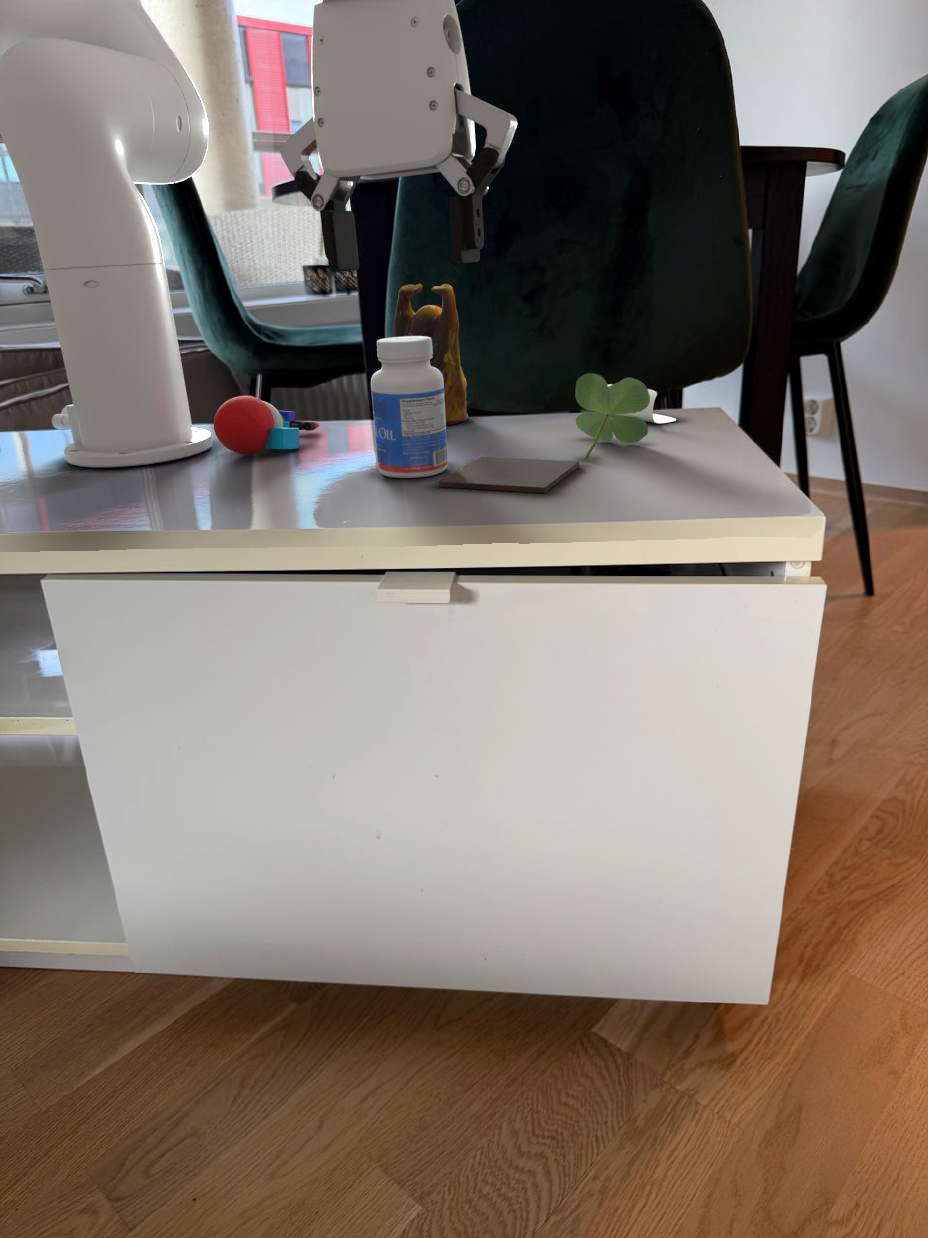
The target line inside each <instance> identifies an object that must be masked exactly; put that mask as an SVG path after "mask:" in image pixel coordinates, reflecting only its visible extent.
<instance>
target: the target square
mask: <svg viewBox="0 0 928 1238" xmlns="http://www.w3.org/2000/svg"><path fill="white" fill-rule="evenodd" d="M579 467H580V461H578V460H577V461H576V460H558V459H557V460H556V459H535V458H511V457H491V456H490V457H489V456H480V457H478V458H477V459H476V460H474V461H472V462H470V463H467V465H465V466H463V467H461V468H459V469H458V470H456V471H453V472H452V473H451V474H449V475H448V476H445V477H444V478H441V479H440V480H439V481H438V482H437V483H438V487H439V488H453V489H470V490H471V489H472V490H485V491H486V490H487V491H504V492H505V491H506V492H521V493H535V494H546V493H548V492H549V490H551V489H552V488H553V487H555V486H556V485H557V484H559V483H560V482H562V480H564V479H565V478H566V477H568V476H569V475H571V473H573V472H574V471H575V470H577V469H578V468H579Z"/></svg>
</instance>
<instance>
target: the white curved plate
mask: <svg viewBox="0 0 928 1238" xmlns="http://www.w3.org/2000/svg"><path fill="white" fill-rule="evenodd" d="M612 384H613V383H611V384H610V383H609V384H608V383H607V385H608V387H609V386H611V385H612ZM647 389H648V393H649V395H650V403H649V405H648V406H647V407H646V408H645V409H644V410H642V411H640V412H636V413H628V414H616V415H619V416H628V417H636V418H639V419H641V420H643V421H644V422H648V423H654V424H667V423H672V422H676V421H677V418H675V417H672V416H669V415H662V414H659V413H654V405H655V400H656V399H657V398H656V397H657V396H658V392H657V391H655V390H653V389H650V388H647Z"/></svg>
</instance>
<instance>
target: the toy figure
mask: <svg viewBox="0 0 928 1238" xmlns="http://www.w3.org/2000/svg"><path fill="white" fill-rule="evenodd" d="M319 427H320V423H318V422H316V421H313V420H298V419H297V417H296V411H291V410H279V409H277V408H276V407H275V406H274V405H272V404H271V403H269V402H267V401H263V400H262V399H260V398H257V397H255V396H252V395H239V396H235V397H232V398H229V399H228V400H226V401H225V402H223V403H222V404H221V405H220V406H219V408H218V409H217V411H216V413H215V414H214V418H213V431H214V434H215V436H216V439H218V441H219V443H220V444H222V446H223V447H224V448H226V449H228V450H229V451H230V452H231V451H232V452H234V453H236V454H240V455H254V454H259V453H261V452H262V451H264V450H266V449H275V450H291V449H292V450H293V449H300V431H307V432H312V431H315V430H316V429H318V428H319Z"/></svg>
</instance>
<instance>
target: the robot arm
mask: <svg viewBox="0 0 928 1238" xmlns="http://www.w3.org/2000/svg"><path fill="white" fill-rule="evenodd" d="M320 1H321V2H320V3H317V4H314V6H313V16H312V17H313V18H312V30H311V60H310V61H311V62H310V63H311V92H312V93H311V94H312V95H311V97H312V112H313V113H312V114H313V116H312V117H311V118H310V119H309V120H308V121H306V122H305V123H304V124H303V125H302V126H301V127H300V128H299V129H298V130H297V131H296V132H295V133H294V134H292V135H291V136H290V137H289V138H288V139H287V140H286V141H285V142H284V143H283V144H281V146H280V149H279V152H280V156H281V159H282V160H283V162H284V164H285V165H286V167H287V169H288V171H289V174H290V175H291V176H292V177H293V180H294V185H295V187H296V188H297V189H298V190H299V191H300V192H301V193H302V194H303V196H305V198H306V199H307V200H308V201H309V202H310V205H311V207H312V209H313V210H314V211H316V212H319V217H320V225H321V232H322V234H321V235H322V242H323V250H324V251H323V252H324V255H325V258H326V259H327V263H328V269H329V271H330V272H331V273H341V272H354V271H355V272H356V271H357V270H358V269H359V268H360V259H359V251H358V250H359V249H358V242H357V241H358V239H357V231H356V221H355V215H354V212H353V210H347V205H348V202H349V201H350V198H351V197H352V195H353V192H354V191H355V189H356V187H357V185H358V183H359V181H360V180H369V181H370V180H371V181H372V180H373V181H374V180H384V179H393V178H401V177H410V176H418V175H428V174H435V173H440V174H441V175H442V176H443V177H444V178H445V180H446V181H447V182H448V183H449V184H450V185H451V187H452V188H453V189H454V196H450V198H449V201H448V212H449V213H448V214H449V215H448V216H449V228H450V243H451V258H452V261H453V262H454V263H456V264H468V263H478V262H480V259H481V253H480V252H481V251H480V250H481V249H483V248H484V243H485V236H484V235H485V234H484V217H483V197H485V196H486V195H487V193H488V191H489V186H490V185H491V184H492V182H493V181H494V180H495V178H496V177H497V175H498V174H499V172H500V171H501V170H502V168H503V167H504V165H505V164H506V163H505V162H506V155H507V151H509V148H510V146H511V143H512V140H513V138H514V135H515V132H516V130H517V128H518V127H517V126H518V119H517V118H516V116H514V114H511V113H510V112H507V111H505V110H503V109H501V108H499V107H498V106H495V105H492V104H490V103H489V102H486V101H484V100H482V99H480V98H478V97H476V96H473V95H472V92H471V85H470V84H471V83H470V77H469V69H468V64H467V57H466V52H465V51H466V50H465V47H464V40H463V35H462V29H461V25H460V20H459V15H458V11H457V7H456V4H455V0H320ZM475 123H476V124H478V125H480V126H482V127H483V128H485V130H486V138H485V141H484V146H483V147H482V149H481V150H480V151H479V153H478V154H477V155H476V157H475V152H476V132H475V129H476V128H475ZM209 130H210V129H209V121H208V117H207V112H206V108H205V105H204V103H203V100H202V98H201V95H200V93H199V91H198V88H197V87H196V84H195V83H194V81H193V79H192V78H191V76H190V75H189V73H188V71H187V70H186V68H185V67H184V65H183V64H182V62H181V61H180V59H179V58H178V57H177V55H176V53H175V52H174V50H173V49H172V48H171V46H170V45H169V43H168V42H167V40H166V39H165V37H164V35H163V34H162V33H161V31H160V30H159V28H158V27H157V26H156V24H155V22H154V21H153V20H152V18H151V16H150V15H149V14H148V12H147V11H146V9H145V8H144V6H143V5H142V3H141V2H140V1H139V0H0V136H1V138H2V141H3V144H4V147H5V148H6V151H7V153H8V156H9V158H10V160H11V163H12V165H13V168H14V171H15V173H16V175H17V178H18V181H19V183H20V186H21V188H22V193H23V195H24V198H25V201H26V204H27V207H28V212H29V214H30V220H31V222H32V227H33V230H34V234H35V239H36V242H37V247H38V251H39V256H40V261H41V265H42V269H43V273H44V277H45V281H46V286H47V290H48V291H47V292H48V295H49V300H50V305H51V309H52V314H53V317H54V318H53V319H54V322H55V323H54V324H55V327H56V331H57V337H58V341H59V346H60V350H61V355H62V360H63V364H64V368H65V374H66V378H67V383H68V387H69V392H70V397H71V400H72V404H68V405H65V406H64V407H63V408H62V409H61V412H60V413H55V414H53V415H52V418H51V425H52V427H53V428H55V429H57V430H70V432H71V437H72V440H73V442H71V443H70V444H68V445H66V446H65V447H64V449H63V453H64V458H65V462H67V463H68V464H70V465H72V466H77V467H83V468H123V467H135V466H136V467H137V466H143V465H153V464H158V463H164V462H170V461H175V460H180V459H183V458H184V459H185V458H188V457H192V456H194V455H198V454H200V453H204V452H205V451H207V450H209V449H210V448H211V447H212V446H213V445H214V444H213V438H212V437H213V436H212V433H211V432H210V431H209V430H207V429H203V428H199V427H193V424H192V418H191V412H190V411H191V410H190V405H189V399H188V394H187V388H186V387H187V386H186V381H185V376H184V369H183V365H182V357H181V351H180V347H179V340H178V333H177V328H176V322H175V317H174V310H173V305H172V298H171V293H170V287H169V280H168V275H167V269H166V263H165V259H164V252H163V246H162V243H161V238H160V235H159V231H158V228H157V224H156V223H155V220H154V218H153V215H152V213H151V211H150V209H149V207H148V205H147V203H146V201H145V200H144V198H143V196H142V195H141V193H140V191H139V189H138V188H137V187H138V186H137V185H136V184H142V185H143V184H144V185H168V184H174V183H175V184H177V183H179V182H183V181H185V180H187V179H188V178H191V177H192V176H193V175H194V174H195V173H197V171H198V170H199V169H200V168H201V166H202V165H203V163H204V161H205V159H206V156H207V152H208V149H209V142H210V133H209V132H210V131H209ZM316 149H317V154H318V159H319V164H320V166H321V168H322V170H323V172H322V175H320V174H319V173H317V172H316V171H315V169H314V166H313V164H312V162H311V155H312V153H313V152H314V151H315V150H316ZM474 157H475V159H474ZM473 159H474V160H473ZM472 160H473V161H472Z"/></svg>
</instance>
